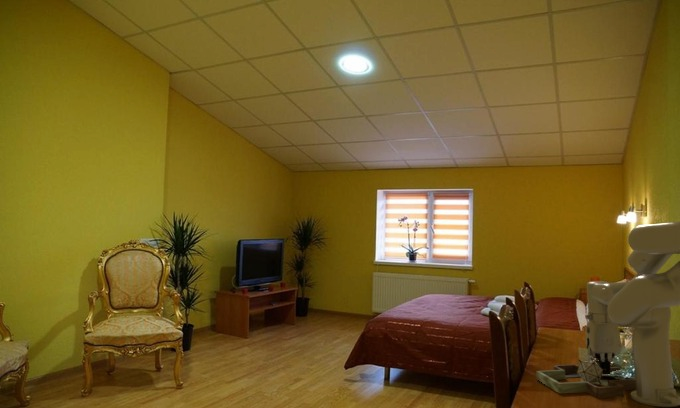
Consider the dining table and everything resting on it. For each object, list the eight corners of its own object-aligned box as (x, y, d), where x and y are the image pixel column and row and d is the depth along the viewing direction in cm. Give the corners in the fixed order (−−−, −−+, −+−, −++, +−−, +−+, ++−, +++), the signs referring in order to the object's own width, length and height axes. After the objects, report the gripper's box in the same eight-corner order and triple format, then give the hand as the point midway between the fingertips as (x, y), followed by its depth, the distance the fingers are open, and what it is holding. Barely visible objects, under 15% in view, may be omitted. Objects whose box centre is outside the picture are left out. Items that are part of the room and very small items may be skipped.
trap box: (662, 394, 144) (661, 384, 144) (569, 399, 142) (568, 389, 142) (608, 371, 171) (607, 362, 171) (528, 375, 169) (528, 366, 169)
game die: (598, 396, 154) (608, 376, 149) (571, 386, 158) (579, 366, 152) (599, 376, 161) (608, 357, 156) (572, 367, 164) (581, 347, 159)
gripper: (586, 320, 155) (589, 377, 153) (629, 318, 155) (633, 375, 154) (573, 316, 162) (577, 370, 161) (615, 315, 163) (619, 368, 161)
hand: (605, 372), depth 157 cm, fingers closed
